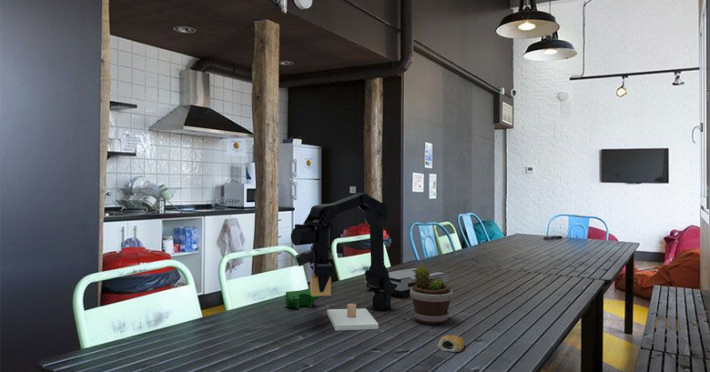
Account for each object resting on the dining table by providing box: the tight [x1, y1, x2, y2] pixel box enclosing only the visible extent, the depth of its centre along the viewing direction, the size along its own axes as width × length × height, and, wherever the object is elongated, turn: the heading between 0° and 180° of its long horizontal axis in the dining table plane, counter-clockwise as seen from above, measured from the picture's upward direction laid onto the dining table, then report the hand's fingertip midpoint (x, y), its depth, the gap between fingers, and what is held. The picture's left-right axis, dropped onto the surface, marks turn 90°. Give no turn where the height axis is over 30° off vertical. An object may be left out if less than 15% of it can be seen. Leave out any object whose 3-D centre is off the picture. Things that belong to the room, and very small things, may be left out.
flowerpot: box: [409, 262, 454, 325], centre depth 170 cm, size 14×15×20 cm
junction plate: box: [326, 303, 379, 332], centre depth 168 cm, size 14×20×6 cm
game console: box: [364, 267, 449, 299], centre depth 219 cm, size 21×32×8 cm, turn 134°
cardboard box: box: [309, 273, 332, 297], centre depth 166 cm, size 6×6×6 cm
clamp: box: [284, 289, 319, 310], centre depth 185 cm, size 12×6×9 cm, turn 112°
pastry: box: [437, 334, 465, 353], centre depth 143 cm, size 9×7×4 cm
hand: (320, 289), depth 166 cm, fingers closed on cardboard box, 6 cm apart
